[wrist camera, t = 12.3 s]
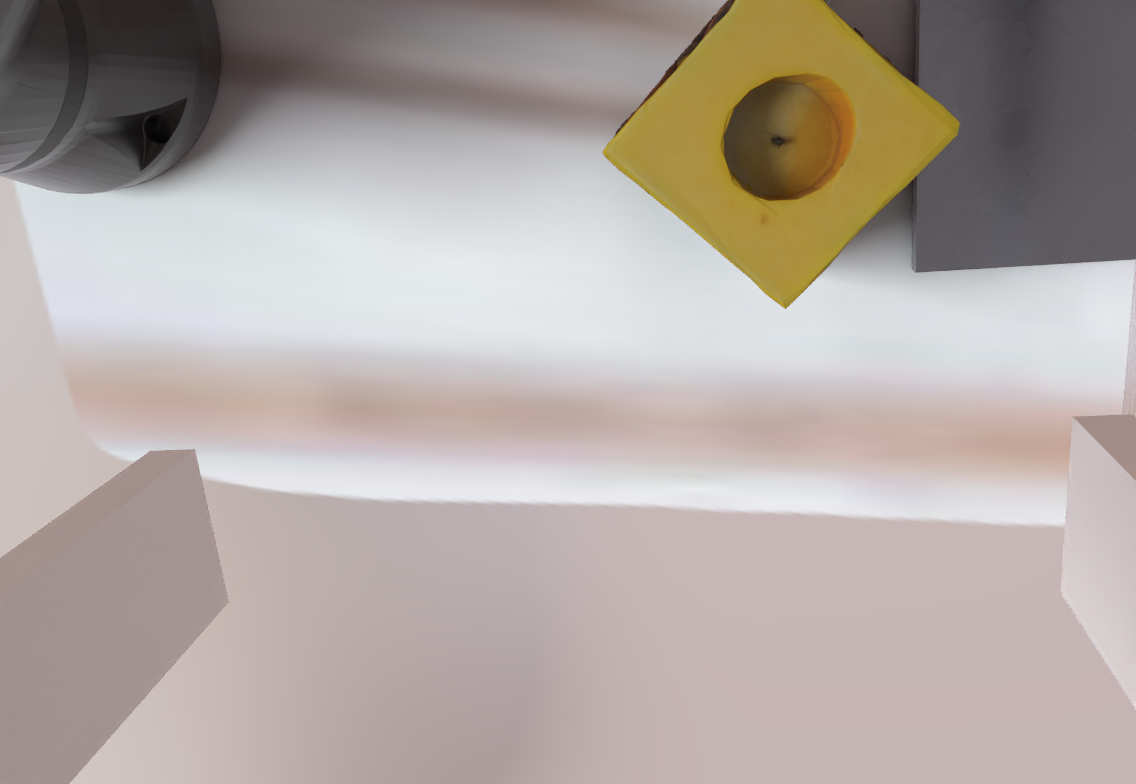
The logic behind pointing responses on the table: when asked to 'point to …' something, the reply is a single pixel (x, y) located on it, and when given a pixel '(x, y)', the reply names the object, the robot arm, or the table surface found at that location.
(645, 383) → the table surface
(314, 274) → the table surface
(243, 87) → the table surface
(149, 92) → the robot arm
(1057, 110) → the shaft stand
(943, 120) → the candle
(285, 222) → the table surface
